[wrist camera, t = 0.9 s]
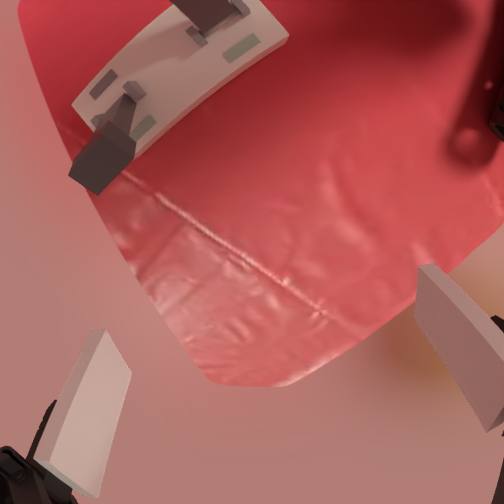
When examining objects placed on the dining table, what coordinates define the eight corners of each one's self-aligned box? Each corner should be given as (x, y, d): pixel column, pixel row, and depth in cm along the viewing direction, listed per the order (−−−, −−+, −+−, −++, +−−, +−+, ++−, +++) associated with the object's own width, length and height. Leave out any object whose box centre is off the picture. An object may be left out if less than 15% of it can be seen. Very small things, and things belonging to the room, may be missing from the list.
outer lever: (143, 104, 27) (134, 158, 20) (115, 133, 28) (98, 195, 21) (122, 86, 24) (102, 134, 18) (94, 116, 26) (68, 175, 19)
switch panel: (285, 43, 29) (291, 30, 22) (141, 154, 36) (114, 171, 29) (232, -15, 25) (224, -40, 18) (95, 100, 32) (61, 106, 25)
